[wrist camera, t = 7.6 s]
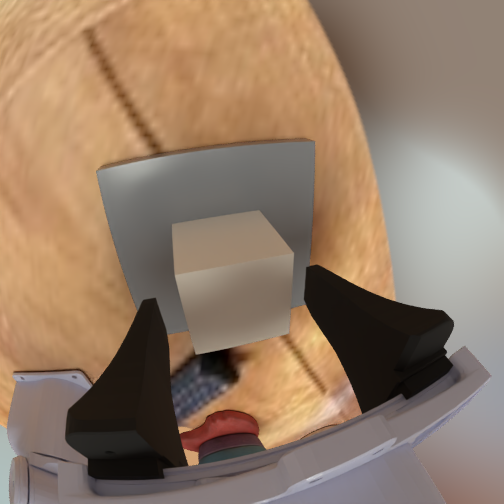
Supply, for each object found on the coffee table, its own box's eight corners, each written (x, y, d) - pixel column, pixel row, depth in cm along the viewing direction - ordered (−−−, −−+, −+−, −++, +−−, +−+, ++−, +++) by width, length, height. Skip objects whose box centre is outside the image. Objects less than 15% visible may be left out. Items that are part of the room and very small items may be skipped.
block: (186, 295, 17) (195, 354, 13) (171, 224, 15) (174, 275, 11) (261, 280, 18) (289, 333, 14) (259, 210, 16) (293, 252, 12)
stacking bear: (221, 406, 28) (267, 547, 13) (275, 418, 33) (322, 526, 18) (169, 438, 30) (196, 554, 15) (224, 447, 35) (256, 543, 20)
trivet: (148, 326, 19) (148, 337, 18) (101, 166, 13) (96, 171, 12) (299, 294, 22) (306, 304, 21) (305, 138, 16) (315, 141, 15)
